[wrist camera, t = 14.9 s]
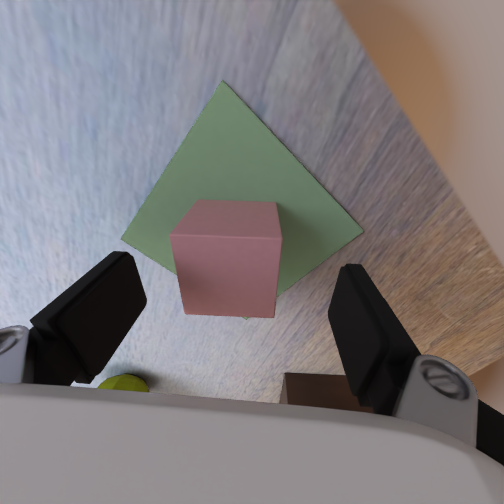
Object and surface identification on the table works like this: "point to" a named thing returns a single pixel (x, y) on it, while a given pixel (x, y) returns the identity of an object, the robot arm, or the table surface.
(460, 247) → the table surface
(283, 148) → the mat
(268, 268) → the block
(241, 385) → the table surface
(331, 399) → the stand
